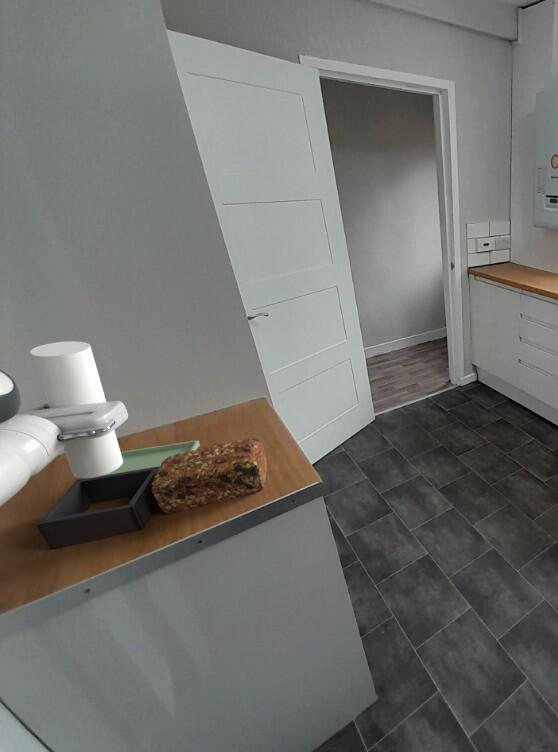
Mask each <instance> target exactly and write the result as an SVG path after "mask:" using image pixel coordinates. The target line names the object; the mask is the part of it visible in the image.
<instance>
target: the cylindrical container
mask: <svg viewBox="0 0 558 752" xmlns="http://www.w3.org/2000/svg"><path fill="white" fill-rule="evenodd" d="M29 353H30V356H31V359H32V362H33V365H34V367H35V370H36V373H37V374H36V375H37V376H38V379H39V382H40V386H41V388H42V390H43V395H44V396H45V399H46V403H48V405H49V408H57V407H66V406H75V405H83V404H92V403H101V402H107V400H106V397H105V392H104V389H103V386H102V382H101V378H100V375H99V371H98V368H97V365H96V361H95V357H94V354H93V350H92V346H91V345H90V343H88V342H85V341H77V340H75V341H71V340H70V341H69V340H68V341H59V342H58V341H57V342H51V343H50V342H49V343H45V344H41V345H38V346H36V347H34V348H31V350H30V351H29ZM63 451H64V454H65V457H66V460H67V463H68V466H69V468H70V471H71V474H72V476H73V477H74V478H77V479H85V478H94V477H98V476H102V475H105V474H108V473H110V472H112V471H114V470H116V469H117V468H119V467H120V466H121V465H122V463H123V459H122V455H121V452H122V451H121V449H120V444H119V441H118V439H117V435H116V431H115V430H113V431H112V432H110V433H108V434H106V435H104V436H101V437H98V438H93V439H85V440H78V441H71V442H65V447H64V449H63Z"/></svg>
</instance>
